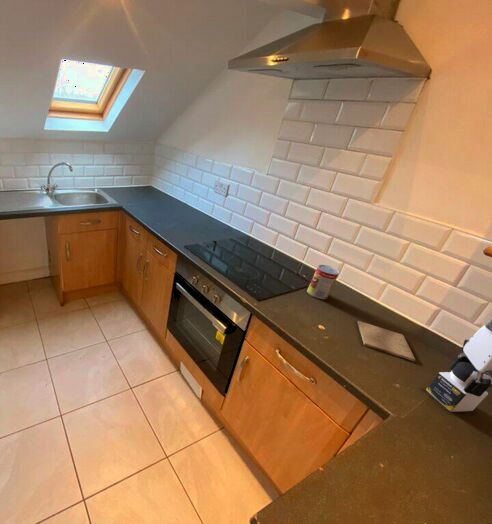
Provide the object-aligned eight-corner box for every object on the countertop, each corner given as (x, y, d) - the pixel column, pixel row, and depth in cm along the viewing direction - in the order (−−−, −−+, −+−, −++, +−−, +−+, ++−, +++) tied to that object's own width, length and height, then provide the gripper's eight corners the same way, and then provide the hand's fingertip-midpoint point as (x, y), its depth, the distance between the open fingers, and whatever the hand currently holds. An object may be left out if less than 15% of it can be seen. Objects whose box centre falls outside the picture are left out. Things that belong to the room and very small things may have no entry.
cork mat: (401, 336, 107) (402, 334, 106) (414, 361, 95) (415, 359, 95) (357, 322, 112) (358, 320, 111) (364, 344, 100) (365, 343, 100)
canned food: (323, 290, 130) (334, 266, 125) (330, 300, 124) (342, 275, 118) (304, 287, 131) (315, 263, 126) (310, 297, 124) (321, 272, 119)
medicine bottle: (424, 389, 85) (449, 358, 80) (445, 389, 86) (471, 358, 81) (450, 412, 79) (478, 380, 73) (472, 411, 80) (502, 380, 74)
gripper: (556, 359, 63) (500, 414, 71) (508, 316, 77) (466, 366, 85) (509, 346, 65) (460, 400, 73) (471, 306, 79) (434, 355, 88)
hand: (463, 381), depth 79 cm, fingers closed on medicine bottle, 7 cm apart
